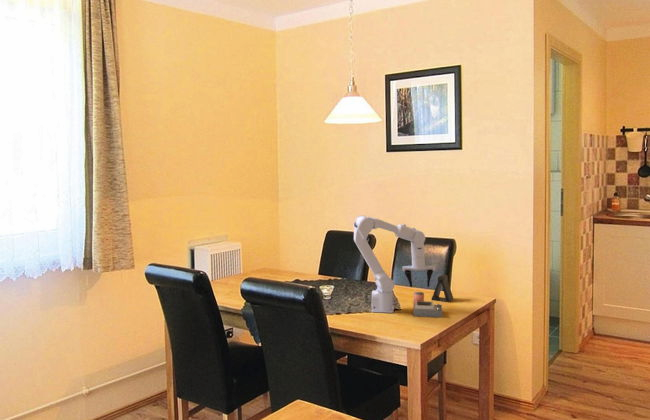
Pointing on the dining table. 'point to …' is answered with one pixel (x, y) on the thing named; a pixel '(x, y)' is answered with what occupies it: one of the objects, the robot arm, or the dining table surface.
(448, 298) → the phone stand
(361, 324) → the dining table surface
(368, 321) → the dining table surface
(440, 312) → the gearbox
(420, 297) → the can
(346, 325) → the dining table surface
